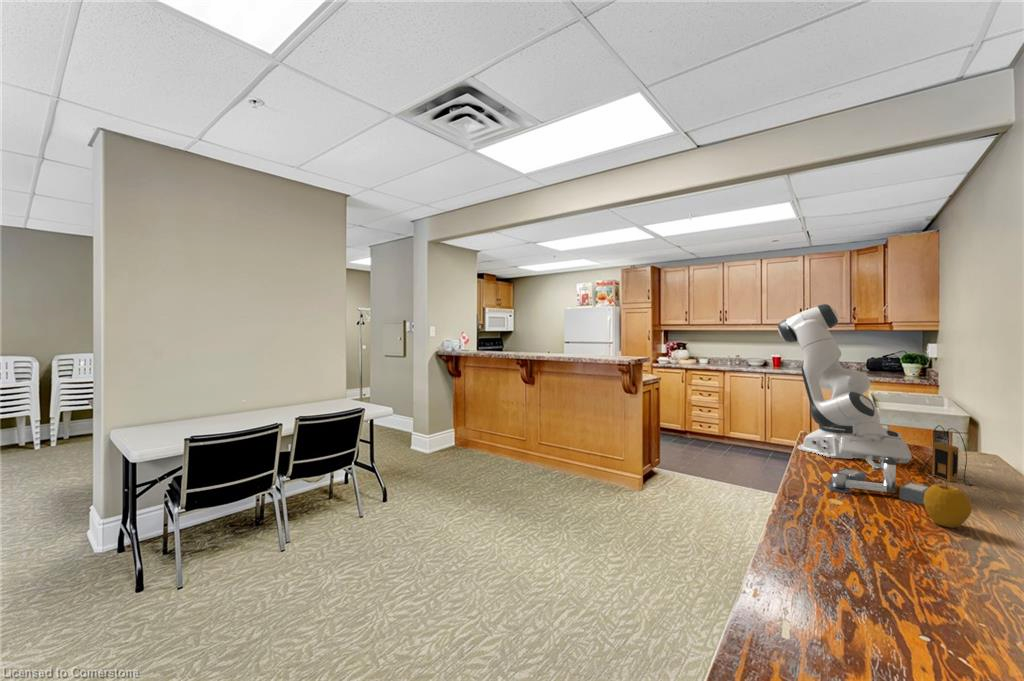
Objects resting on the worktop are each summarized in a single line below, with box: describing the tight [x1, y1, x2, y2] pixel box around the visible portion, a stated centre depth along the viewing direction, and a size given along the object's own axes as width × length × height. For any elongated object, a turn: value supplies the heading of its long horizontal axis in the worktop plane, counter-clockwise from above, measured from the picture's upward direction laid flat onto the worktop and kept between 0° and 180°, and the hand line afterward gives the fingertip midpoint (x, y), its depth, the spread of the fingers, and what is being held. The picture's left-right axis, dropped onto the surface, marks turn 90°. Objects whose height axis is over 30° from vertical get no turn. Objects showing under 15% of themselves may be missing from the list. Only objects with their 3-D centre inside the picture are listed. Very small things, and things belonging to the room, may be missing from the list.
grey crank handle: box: [831, 457, 898, 494], centre depth 148 cm, size 18×4×12 cm, turn 68°
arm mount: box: [825, 482, 853, 495], centre depth 151 cm, size 6×6×1 cm
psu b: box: [834, 467, 867, 482], centre depth 157 cm, size 6×10×4 cm, turn 123°
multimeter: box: [923, 424, 975, 487], centre depth 162 cm, size 15×10×20 cm
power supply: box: [898, 481, 932, 506], centre depth 143 cm, size 6×10×4 cm, turn 123°
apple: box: [923, 483, 973, 529], centre depth 124 cm, size 10×10×12 cm
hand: (878, 469), depth 151 cm, fingers closed
